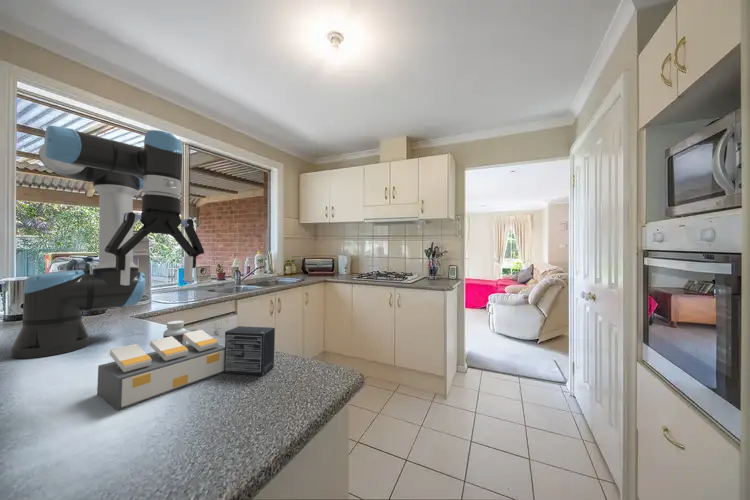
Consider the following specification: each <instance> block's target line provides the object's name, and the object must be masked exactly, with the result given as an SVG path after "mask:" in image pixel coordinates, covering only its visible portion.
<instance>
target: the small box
mask: <svg viewBox="0 0 750 500" xmlns="http://www.w3.org/2000/svg"><path fill="white" fill-rule="evenodd" d="M275 330H276V328H275V327H265V326H263V327H262V326H245V325H244V326H240V325H239V326H236V327H234V328H231V329H229V330H226V331H225V332H224V337H225V338H224V341H225V343H224V347H225V362H224V363H225V364H224V372H223V373H224V374H226V375H227V374H229V375H246V376H261V377H262V376H264V375H265V374H266V373H268V372H269V371H270V370H272V368H274V367H275V337H276V336H275V334H276V333H275Z"/></svg>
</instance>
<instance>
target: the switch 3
mask: <svg viewBox="0 0 750 500" xmlns="http://www.w3.org/2000/svg"><path fill="white" fill-rule="evenodd" d="M183 338H184V339H185V340H186V343H187V344H189V343H190V344H191V345H192V346H193V347H194V348H195V349H197V350H198V351H199V352H200V351H204V350H207V349H211V348H215V347H218V345H219V340H217V339H215V338H214V337H212V336H211V335H210V334H208V333H206V331H204V330H203V329H199V330H194V331H190V332H186V333H184V335H183Z"/></svg>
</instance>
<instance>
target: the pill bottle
mask: <svg viewBox="0 0 750 500" xmlns="http://www.w3.org/2000/svg"><path fill="white" fill-rule="evenodd" d="M184 325H185V321H184V320H173V321H172V320H171V321H168V322H167V323H166V329H167V330H165V331H163V337H162V338H166V337H170V336H173V337H174V338H175V339H176V340H177V341H178V342H179V343H181V344H182V345H185V344H187V341H186V340H185V339H184V338H183V335H184V333H187V329H186V328H184Z"/></svg>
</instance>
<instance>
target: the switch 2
mask: <svg viewBox="0 0 750 500" xmlns="http://www.w3.org/2000/svg"><path fill="white" fill-rule="evenodd" d="M149 347H151V348H152V350H154V352H157V353H158V354H159V355H160V356H161V357H162V358H163V359H164V360H165V361H167V360H171V359H175V358H178V357H182V356H185V355H188V349H187V348H186V347H185V346H183V345H182V344H181V343H179V342H178V341H177V340H176V339H175V338H174V337H173V336H170V337H166V338H163V337H161V338H158V339H152V340H150V341H149Z"/></svg>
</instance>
